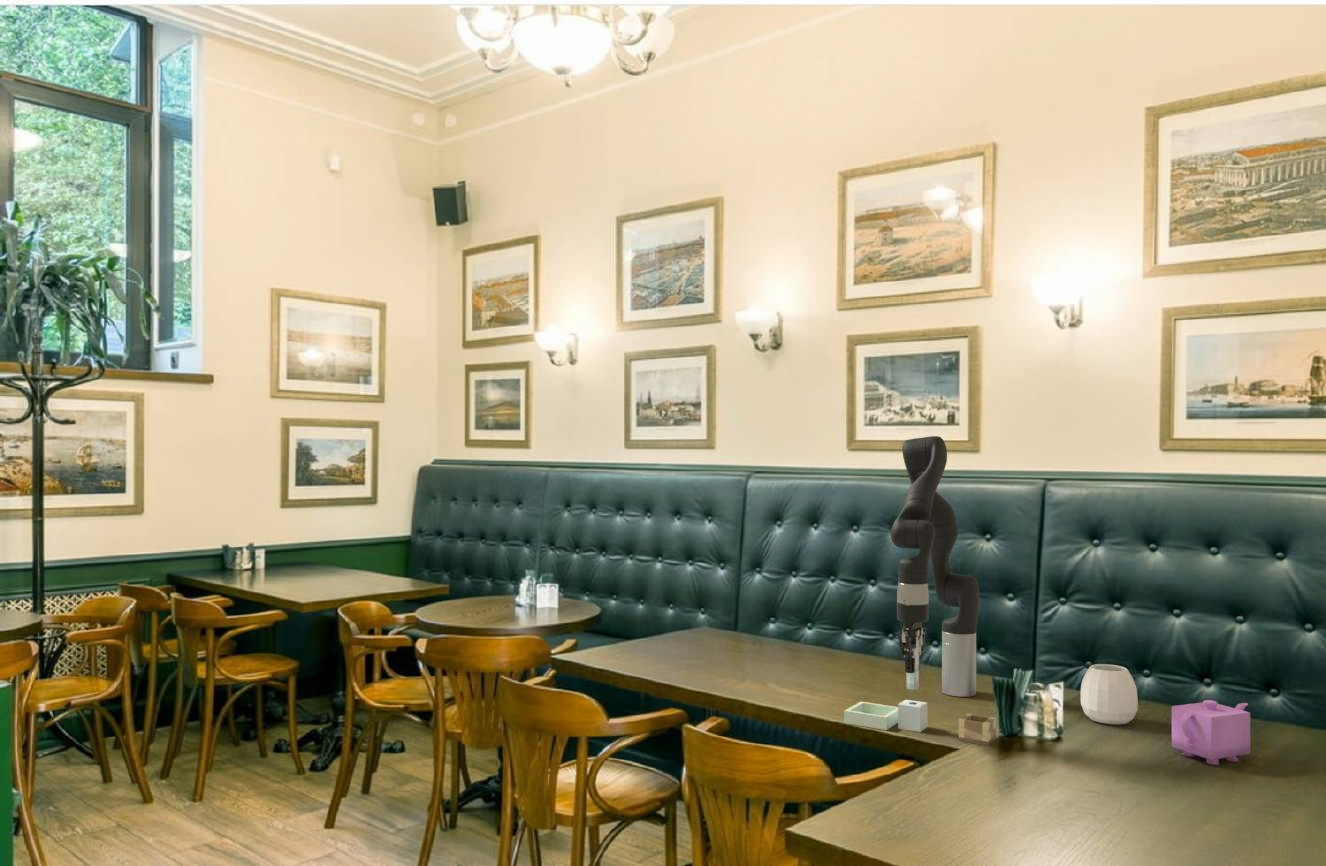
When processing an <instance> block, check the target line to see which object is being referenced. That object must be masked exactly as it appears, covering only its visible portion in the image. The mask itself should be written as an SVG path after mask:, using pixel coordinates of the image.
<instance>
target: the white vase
mask: <svg viewBox="0 0 1326 866" xmlns="http://www.w3.org/2000/svg"><path fill="white" fill-rule="evenodd" d="M1138 699H1139V698H1138V689H1137V686H1136V682H1135V680H1134V678H1133V676H1132V674H1131V673H1130V671H1129V670H1128V668H1126V667H1125V666H1121V665H1115V664H1105V663H1098V664H1092V665H1090V666H1089V667H1088V668H1087V671H1086V672H1085V674H1084V676H1083V678H1082V680H1081V685H1080V705H1081V708H1082V710H1083V713H1084V715H1086V717H1088V719H1090V720H1092V721H1093V722H1098V723H1102V724H1105V725H1106V724H1107V725H1125V724H1128V723H1129V722H1131V721H1132V720H1133V719H1134V718H1135V716H1136V714H1137V711H1138V708H1139V707H1138V706H1139V705H1138V704H1139V702H1138Z"/></svg>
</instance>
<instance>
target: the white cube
mask: <svg viewBox="0 0 1326 866" xmlns="http://www.w3.org/2000/svg"><path fill="white" fill-rule="evenodd" d="M897 707H898V723H897V729H899V730H903V731H905V730H906V731H912V732H917V733H921V732H922V731H924V730H925V729H927V728H928V702H925V701H918V700H911V699H904V700H903V701H901V702H899V703H898V704H897Z"/></svg>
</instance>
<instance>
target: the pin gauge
mask: <svg viewBox="0 0 1326 866" xmlns="http://www.w3.org/2000/svg"><path fill="white" fill-rule="evenodd" d="M911 645H913V644H912V643H911ZM919 656H920V655H919V639H918V647H917V648H916V649H915V672H914V673H906V672H905V674H906V675H905V688H906V689H907V690H912V691H913V690H914V691H915V690H919V688H920V687H919V684H920V683H919V682H920V674H919V673H920V670H919Z"/></svg>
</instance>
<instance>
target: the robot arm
mask: <svg viewBox="0 0 1326 866" xmlns="http://www.w3.org/2000/svg"><path fill="white" fill-rule="evenodd" d="M901 452H902V458H903V460H904V461H903V462H904V465H905V469H906V472H907V475H908V478H909V480H910V481H909V482H910V484H911V485H910V486H909V488H908V489H907V491H906V493H905V496H904V500H903V507H902V510H901V511H900V513H899V514H898V516H897V517H896V519H895V520H894V522H893V524H892V526H891V529H890V539H891V542H892V544H894V546H896V547H897V548H900V549H912V550H913V549H915V550H916V549H919V552H918V554H917V555H915V556H912V557H904V558H901V559H900V560H899V561H898V568H897V569H898V570H897V571H898V575H897V577H898V579H897V581H898V582H897V583H898V584H897V590H896V591H897V592H896V619H897V620H898V621H900V622H903V628H902V629H901V630H902V631H901V633H898V642H899V649H900V655H901V656H902V657H904V660H905V661H904V668H905V669H904V671H905V674H906V673H914V672H915V649H916V648H917V647H918V639H919V671H920V670H921V655H922V652H924V649H925V643H926V636H927V635H926V634H927V627H923V623H926V622H928V621H929V614H930V612H929V609H930V608H929V605H930V604H929V603H930V602H929V598H930V597H929V595H930V594H929V585H928V583H929V581H928V578H929V577H928V573H929V572H928V571H929V569H928V568H929V560H930V563H931V572H932V579H933V585H934V591H935V594H936V598H937V601H938V602H939V603H940V604H941V605H943V606H945V607H953V608H958V614H957V615H956V616H953V617H951V618H946V619H943V620H942V622H941V693H943V694H944V695H948V696H953V697H960V698H961V697H963V698H964V697H965V698H966V697H967V698H968V697H973V696H974V697H975V696H977V626H978V620H979V604H980V585H979V583H978V582H979V581H978V580H977V578H976V577H975V576H973V575H970V574H960V573H959V574H958V573H953V572H952V571H951V566H950V557H951V554H952V551H953V549H954V546H955V545H956V542H957V539H958V536H959V527H958V524H957V520H956V515H955V511H954V508H953V507H952V506H951V504H949V502H948V501H947V500H946V499H945V498H944V497H943V496H941V495H940V494H939V493H938V492H937V489H938V486H939V484H940V481H941V479H942V477H943V474H944V472H945V469H946V465H947V462H948V461H947V460H948V450H947V446H946V442H945V441H944V439H943V438H942V437H941V436H939V435H938V436H937V435H933V436H932V435H931V436H924V437H916V438H910V439H905V441H904V442H903V444H902V450H901ZM911 643H912V644H913V645H911Z"/></svg>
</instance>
